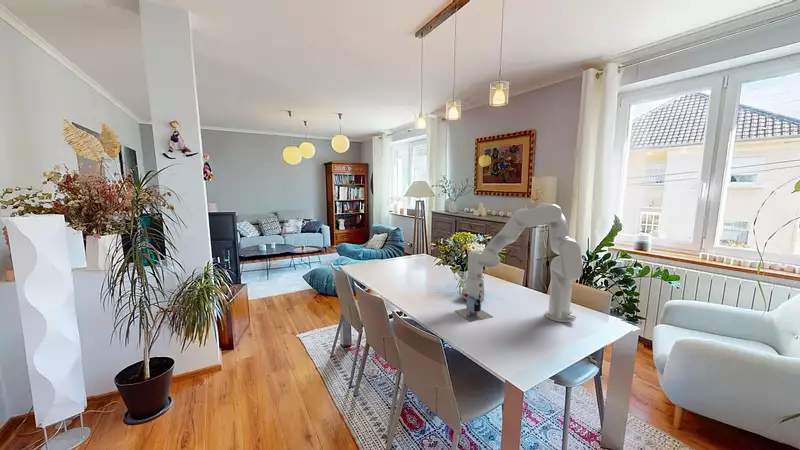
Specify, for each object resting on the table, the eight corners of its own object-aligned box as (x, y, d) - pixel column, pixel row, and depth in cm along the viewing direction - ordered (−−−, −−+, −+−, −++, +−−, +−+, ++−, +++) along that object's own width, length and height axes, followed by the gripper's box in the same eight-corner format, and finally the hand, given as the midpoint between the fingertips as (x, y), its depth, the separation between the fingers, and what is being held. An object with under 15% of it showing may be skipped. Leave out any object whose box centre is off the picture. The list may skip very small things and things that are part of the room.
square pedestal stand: (493, 317, 155) (493, 303, 154) (470, 321, 150) (471, 307, 149) (475, 307, 168) (476, 294, 167) (454, 311, 162) (454, 297, 162)
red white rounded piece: (471, 293, 188) (486, 305, 174) (455, 295, 184) (469, 307, 170) (472, 280, 186) (488, 290, 172) (456, 281, 182) (471, 293, 168)
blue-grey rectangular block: (480, 311, 157) (481, 298, 156) (472, 312, 155) (473, 300, 154) (474, 307, 162) (475, 295, 161) (466, 308, 160) (466, 296, 159)
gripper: (492, 279, 150) (490, 314, 152) (470, 270, 166) (469, 302, 168) (479, 280, 147) (478, 316, 149) (459, 271, 163) (458, 304, 165)
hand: (473, 308), depth 159 cm, fingers closed on blue-grey rectangular block, 4 cm apart
